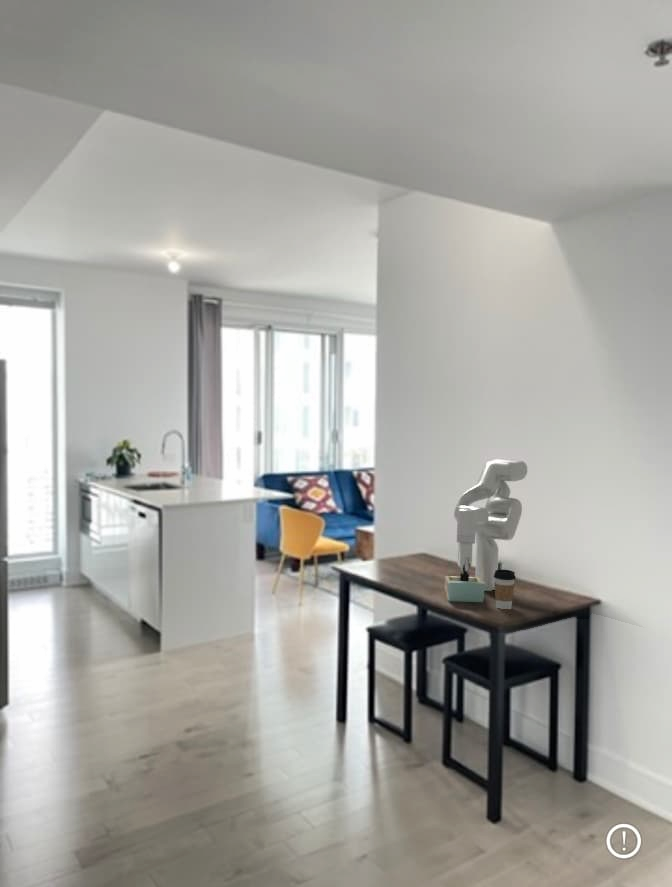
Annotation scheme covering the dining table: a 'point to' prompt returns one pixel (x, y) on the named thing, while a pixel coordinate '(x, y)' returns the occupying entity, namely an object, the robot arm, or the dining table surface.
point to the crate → (453, 578)
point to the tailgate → (466, 591)
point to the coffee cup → (504, 588)
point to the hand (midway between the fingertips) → (464, 582)
